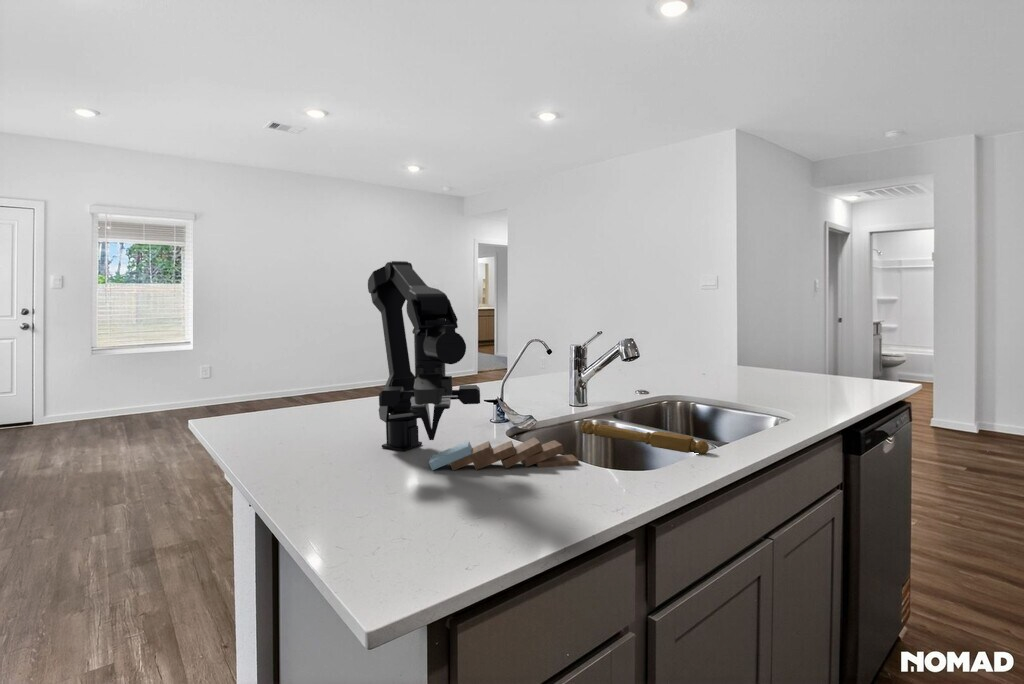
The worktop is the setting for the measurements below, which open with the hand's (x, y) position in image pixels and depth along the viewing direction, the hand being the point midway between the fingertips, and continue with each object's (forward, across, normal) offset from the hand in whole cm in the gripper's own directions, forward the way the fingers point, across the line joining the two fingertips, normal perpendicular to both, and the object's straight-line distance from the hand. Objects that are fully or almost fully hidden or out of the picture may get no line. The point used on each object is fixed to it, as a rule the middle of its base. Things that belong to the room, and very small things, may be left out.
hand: (431, 439), depth 108 cm
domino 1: (+5, 0, 0) cm, 5 cm away
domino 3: (+5, +8, 0) cm, 9 cm away
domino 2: (+5, +4, 0) cm, 6 cm away
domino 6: (+6, +20, 0) cm, 21 cm away
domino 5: (+5, +17, 0) cm, 18 cm away
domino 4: (+5, +14, -1) cm, 14 cm away
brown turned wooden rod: (+6, +45, +13) cm, 48 cm away
